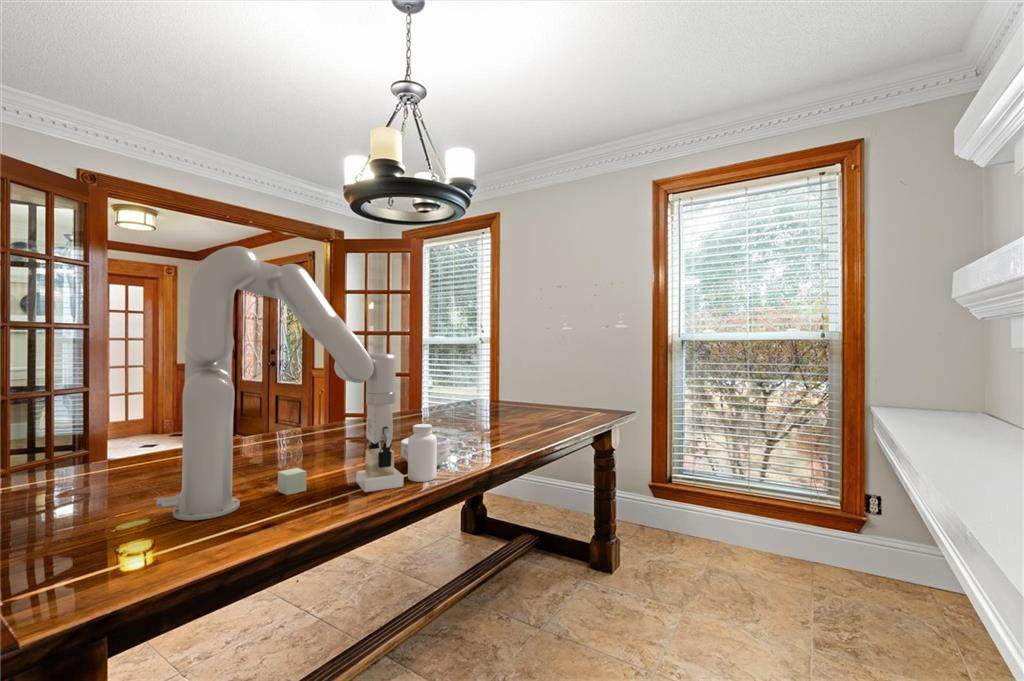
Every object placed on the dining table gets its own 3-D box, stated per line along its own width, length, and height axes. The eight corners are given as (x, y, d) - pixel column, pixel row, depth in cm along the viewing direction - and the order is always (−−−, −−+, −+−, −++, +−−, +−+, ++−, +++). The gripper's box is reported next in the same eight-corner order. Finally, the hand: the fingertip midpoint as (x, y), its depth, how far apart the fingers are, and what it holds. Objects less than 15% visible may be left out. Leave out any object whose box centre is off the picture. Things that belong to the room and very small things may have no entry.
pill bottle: (401, 479, 132) (402, 426, 132) (420, 473, 139) (420, 421, 139) (424, 484, 128) (425, 428, 128) (442, 476, 135) (442, 424, 136)
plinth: (365, 492, 121) (365, 480, 121) (356, 481, 129) (356, 470, 129) (403, 486, 126) (403, 475, 126) (392, 477, 135) (392, 466, 135)
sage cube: (286, 495, 118) (287, 475, 118) (277, 491, 121) (277, 471, 121) (306, 490, 122) (306, 471, 122) (296, 486, 125) (297, 467, 125)
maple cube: (371, 477, 124) (371, 454, 124) (365, 471, 129) (365, 449, 129) (393, 474, 127) (394, 451, 127) (387, 469, 132) (387, 447, 132)
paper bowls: (407, 458, 157) (407, 434, 157) (453, 459, 156) (453, 435, 156) (394, 470, 142) (394, 443, 142) (444, 471, 141) (445, 445, 141)
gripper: (359, 396, 133) (358, 457, 133) (374, 403, 118) (373, 472, 118) (385, 395, 137) (384, 454, 137) (404, 402, 122) (403, 468, 122)
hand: (379, 462), depth 128 cm, fingers open, 9 cm apart
